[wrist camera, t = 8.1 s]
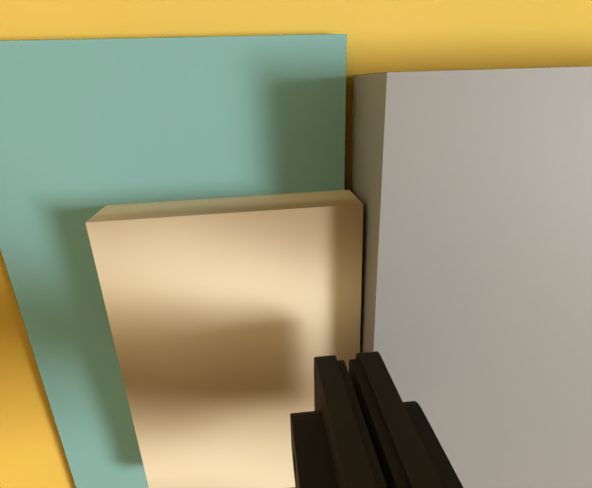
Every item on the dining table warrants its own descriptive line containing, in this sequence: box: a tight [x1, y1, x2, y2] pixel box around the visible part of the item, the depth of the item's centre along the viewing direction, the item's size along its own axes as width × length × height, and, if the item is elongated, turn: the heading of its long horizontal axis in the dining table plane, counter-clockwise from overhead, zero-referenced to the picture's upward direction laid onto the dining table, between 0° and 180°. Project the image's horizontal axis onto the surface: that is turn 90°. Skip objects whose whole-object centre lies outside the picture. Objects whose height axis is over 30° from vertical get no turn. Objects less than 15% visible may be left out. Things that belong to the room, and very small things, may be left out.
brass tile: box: [85, 190, 363, 488], centre depth 13 cm, size 10×7×2 cm
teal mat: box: [0, 34, 347, 488], centre depth 14 cm, size 18×10×1 cm, turn 2°
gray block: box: [351, 66, 592, 488], centre depth 13 cm, size 16×10×3 cm, turn 2°
